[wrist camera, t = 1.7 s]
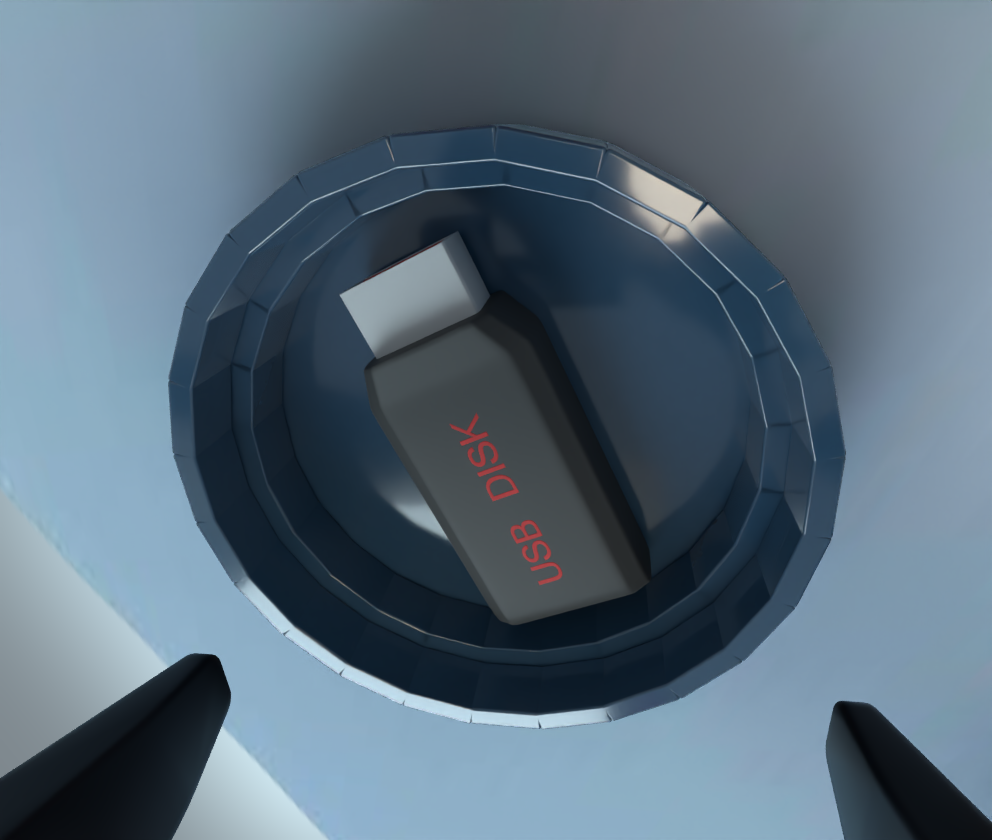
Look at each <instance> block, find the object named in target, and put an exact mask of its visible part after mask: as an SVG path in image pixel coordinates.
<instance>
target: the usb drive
mask: <svg viewBox="0 0 992 840" xmlns="http://www.w3.org/2000/svg"><path fill="white" fill-rule="evenodd" d="M340 297H341V298H342V300H343V302H344V304H345V305H346V307H347V309H348V311H349V312H350V314H351V316H352V317H353V319H354V321H355V323H356V324H357V326H358V328H359V329H360V331H361V333H362V335H363V336H364V338H365V340H366V341H367V343H368V345H369V347H370V348H371V350H372V352H373V353H374V355H375V357H374V358H373V359H372V360H371V361H370V362H369V363H368V364H367V366H366V367H365V369H364V376H365V381H366V387H367V393H368V399H369V404H370V408H371V411H372V413H373V415H374V416H375V418H376V420H377V422H378V423H379V425H380V427H381V428H382V430H383V432H384V433H385V435H386V437H387V438H388V440H389V442H390V443H391V445H392V447H393V448H394V450H395V452H396V453H397V455H398V457H399V458H400V460H401V461H402V463H403V465H404V466H405V468H406V470H407V471H408V473H409V475H410V476H411V478H412V480H413V481H414V483H415V485H416V486H417V488H418V490H419V491H420V493H421V495H422V496H423V498H424V500H425V501H426V503H427V505H428V506H429V508H430V509H431V511H432V513H433V514H434V516H435V518H436V519H437V521H438V523H439V524H440V526H441V528H442V529H443V531H444V533H445V534H446V536H447V538H448V539H449V541H450V543H451V544H452V546H453V548H454V549H455V551H456V553H457V554H458V556H459V558H460V559H461V561H462V562H463V564H464V566H465V567H466V569H467V571H468V572H469V574H470V576H471V577H472V579H473V581H474V582H475V584H476V586H477V587H478V589H479V591H480V592H481V594H482V596H483V597H484V599H485V601H486V602H487V604H488V605H489V607H490V608H491V610H492V611H493V613H494V614H495V616H496V617H497V618H498V619H499V620H500V621H502V622H505V623H508V624H511V625H519V624H523V623H527V622H531V621H534V620H538V619H542V618H545V617H549V616H553V615H556V614H560V613H564V612H568V611H571V610H575V609H579V608H582V607H586V606H590V605H594V604H597V603H601V602H605V601H608V600H612V599H616V598H620V597H623V596H627V595H630V594H633V593H635V592H637V591H638V590H639V589H641V588H642V587H643V586H645V585H646V584H647V583H649V582H650V580H651V561H650V551H649V548H648V545H647V543H646V541H645V538H644V536H643V534H642V532H641V530H640V528H639V526H638V524H637V521H636V519H635V517H634V515H633V513H632V511H631V509H630V507H629V505H628V503H627V500H626V498H625V496H624V494H623V492H622V490H621V488H620V486H619V484H618V482H617V479H616V477H615V475H614V473H613V471H612V469H611V467H610V465H609V463H608V461H607V458H606V456H605V454H604V452H603V450H602V448H601V446H600V444H599V442H598V440H597V437H596V435H595V433H594V431H593V429H592V427H591V425H590V423H589V421H588V419H587V416H586V414H585V412H584V410H583V408H582V406H581V404H580V402H579V400H578V397H577V395H576V393H575V391H574V389H573V387H572V385H571V383H570V381H569V379H568V376H567V374H566V372H565V370H564V368H563V366H562V364H561V362H560V360H559V358H558V355H557V353H556V351H555V349H554V347H553V345H552V343H551V341H550V339H549V337H548V334H547V332H546V330H545V329H544V327H543V325H542V323H541V321H540V320H539V318H538V317H537V316H536V315H535V314H533V313H532V312H531V311H529V310H528V309H527V308H526V307H524V306H523V305H522V304H520V303H519V302H518V301H517V300H515V299H514V298H513V297H511V296H510V295H509V294H507V293H506V292H505V291H502V290H500V291H497V292H495V293H493V294H491V295H490V294H489V292H488V290H487V288H486V286H485V284H484V282H483V280H482V278H481V276H480V274H479V272H478V270H477V268H476V266H475V264H474V262H473V260H472V258H471V256H470V254H469V252H468V250H467V248H466V246H465V244H464V242H463V240H462V238H461V236H460V234H459V232H458V231H457V232H455V233H453V234H451V235H449V236H447V237H445V238H443V239H441V240H439V241H437V242H435V243H433V244H431V245H429V246H427V247H426V248H424V249H422V250H420V251H418V252H416V253H414V254H412V255H410V256H408V257H406V258H404V259H402V260H400V261H398V262H396V263H394V264H392V265H390V266H389V267H387V268H385V269H383V270H381V271H379V272H377V273H375V274H373V275H371V276H369V277H367V278H365V279H363V280H361V281H360V282H358V283H357V284H355V285H354V286H352V287H350V288H349V289H347V290H346V291H344V292H343V293H341V294H340Z"/></svg>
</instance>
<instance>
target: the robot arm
mask: <svg viewBox="0 0 992 840" xmlns="http://www.w3.org/2000/svg"><path fill="white" fill-rule="evenodd" d="M230 702H231V691H230V688H229V685H228V682H227V679H226V676H225V673H224V670H223V667H222V665H221V662H220V660H219V658H218V657H217V656H216V655H212V654H198V653H194V654H190V655H187V656H186V657H184V658H182V659H181V660H179V661H178V662H176V663H175V664H173V665H172V666H170V667H169V668H167V669H166V670H164V671H163V672H161V673H160V674H158V675H157V676H155V677H153V678H152V679H150V680H149V681H148V682H146V683H145V684H143V685H141V686H140V687H138V688H137V689H135V690H134V691H132V692H131V693H129V694H128V695H126V696H125V697H123V698H122V699H120V700H119V701H117V702H116V703H114V704H112V705H111V706H109V707H108V708H106V709H105V710H104V711H102V712H100V713H99V714H97V715H96V716H94V717H93V718H91V719H90V720H88V721H87V722H85V723H84V724H82V725H80V726H79V727H77V728H76V729H74V730H73V731H71V732H70V733H68V734H67V735H65V736H64V737H62V738H61V739H59V740H58V741H56V742H55V743H53V744H52V745H50V746H49V747H47V748H45V749H44V750H42V751H41V752H39V753H38V754H36V755H35V756H33V757H32V758H30V759H29V760H27V761H26V762H24V763H23V764H21V765H20V766H18V767H17V768H15V769H13V770H12V771H10V772H9V773H7V774H6V775H4V776H3V777H1V778H0V840H172V838H173V836H174V834H175V832H176V830H177V828H178V826H179V824H180V823H181V820H182V818H183V816H184V814H185V812H186V810H187V808H188V806H189V804H190V802H191V799H192V797H193V795H194V792H195V790H196V788H197V785H198V783H199V780H200V778H201V776H202V773H203V771H204V768H205V766H206V763H207V761H208V758H209V756H210V753H211V751H212V749H213V746H214V744H215V741H216V739H217V736H218V734H219V731H220V729H221V727H222V724H223V722H224V719H225V717H226V714H227V712H228V709H229V706H230ZM826 758H827V764H828V768H829V773H830V777H831V782H832V786H833V790H834V795H835V799H836V804H837V808H838V813H839V817H840V822H841V826H842V831H843V835H844V839H845V840H992V822H991V821H990V820H989V819H988V818H987V817H986V816H985V815H984V814H983V813H982V812H981V811H980V810H979V809H978V808H977V807H976V806H975V805H974V804H973V803H972V802H971V801H970V800H969V799H968V798H967V797H966V796H964V795H963V794H962V793H961V792H960V791H959V790H958V789H957V788H956V787H955V786H954V785H953V784H952V783H951V782H950V781H949V780H948V779H947V778H946V777H945V776H944V775H943V774H942V773H941V772H940V771H939V770H938V769H937V768H936V767H935V766H934V765H933V764H932V763H931V762H930V761H929V760H928V759H927V758H926V757H925V756H924V755H923V754H922V753H921V752H920V751H919V750H918V749H917V748H916V747H915V746H914V745H913V744H912V743H911V742H910V741H909V740H908V739H907V738H906V737H905V736H904V735H903V734H902V733H901V732H900V731H899V730H898V729H897V728H895V727H894V726H893V725H892V724H891V723H890V722H889V721H888V720H887V719H886V718H885V717H884V716H883V715H882V714H881V713H880V712H879V711H878V710H877V709H876V708H875V707H874V706H872V705H870V704H868V703H863V702H850V701H838V702H837V703H836V704H835V706H834V708H833V712H832V717H831V721H830V726H829V731H828V735H827V740H826Z"/></svg>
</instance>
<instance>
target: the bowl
mask: <svg viewBox="0 0 992 840" xmlns="http://www.w3.org/2000/svg"><path fill="white" fill-rule="evenodd" d="M457 231H458V232H459V234H460V236H461V238H462V240H463V242H464V244H465V246H466V248H467V250H468V252H469V254H470V256H471V258H472V260H473V262H474V264H475V266H476V268H477V270H478V272H479V274H480V276H481V278H482V280H483V282H484V284H485V286H486V288H487V290H488V292H489V294H490V295H491V294H493V293H495V292H497V291H500V290H502V291H505V292H506V293H507V294H509V295H510V296H511V297H513V298H514V299H515V300H517V301H518V302H519V303H520V304H522V305H523V306H524V307H526V308H527V309H528V310H529V311H531V312H532V313H533V314H535V315H536V316H537V317H538V318H539V320H540V321H541V323H542V325H543V327H544V329H545V330H546V332H547V334H548V337H549V339H550V341H551V343H552V345H553V347H554V349H555V351H556V353H557V355H558V358H559V360H560V362H561V364H562V366H563V368H564V370H565V372H566V374H567V376H568V379H569V381H570V383H571V385H572V387H573V389H574V391H575V393H576V395H577V397H578V400H579V402H580V404H581V406H582V408H583V410H584V412H585V414H586V416H587V419H588V421H589V423H590V425H591V427H592V429H593V431H594V433H595V435H596V437H597V440H598V442H599V444H600V446H601V448H602V450H603V452H604V454H605V456H606V458H607V461H608V463H609V465H610V467H611V469H612V471H613V473H614V475H615V477H616V479H617V482H618V484H619V486H620V488H621V490H622V492H623V494H624V496H625V498H626V500H627V503H628V505H629V507H630V509H631V511H632V513H633V515H634V517H635V519H636V521H637V524H638V526H639V528H640V530H641V532H642V534H643V536H644V538H645V541H646V543H647V545H648V548H649V551H650V561H651V580H650V582H649V583H647V584H646V585H645V586H643V587H642V588H641V589H639V590H638V591H637V592H635V593H633V594H630V595H627V596H623V597H620V598H616V599H612V600H608V601H605V602H601V603H597V604H594V605H590V606H586V607H582V608H579V609H575V610H571V611H568V612H564V613H560V614H556V615H553V616H549V617H545V618H542V619H538V620H534V621H531V622H527V623H523V624H519V625H511V624H508V623H505V622H502V621H500V620H499V619H498V618H497V617H496V616H495V614H494V613H493V611H492V610H491V608H490V607H489V605H488V604H487V602H486V601H485V599H484V597H483V596H482V594H481V592H480V591H479V589H478V587H477V586H476V584H475V582H474V581H473V579H472V577H471V576H470V574H469V572H468V571H467V569H466V567H465V566H464V564H463V562H462V561H461V559H460V558H459V556H458V554H457V553H456V551H455V549H454V548H453V546H452V544H451V543H450V541H449V539H448V538H447V536H446V534H445V533H444V531H443V529H442V528H441V526H440V524H439V523H438V521H437V519H436V518H435V516H434V514H433V513H432V511H431V509H430V508H429V506H428V505H427V503H426V501H425V500H424V498H423V496H422V495H421V493H420V491H419V490H418V488H417V486H416V485H415V483H414V481H413V480H412V478H411V476H410V475H409V473H408V471H407V470H406V468H405V466H404V465H403V463H402V461H401V460H400V458H399V457H398V455H397V453H396V452H395V450H394V448H393V447H392V445H391V443H390V442H389V440H388V438H387V437H386V435H385V433H384V432H383V430H382V428H381V427H380V425H379V423H378V422H377V420H376V418H375V416H374V415H373V413H372V411H371V408H370V404H369V399H368V393H367V387H366V381H365V376H364V369H365V367H366V366H367V364H368V363H369V362H370V361H371V360H372V359H373V358H374V357H375V355H374V353H373V352H372V350H371V348H370V347H369V345H368V343H367V341H366V340H365V338H364V336H363V335H362V333H361V331H360V329H359V328H358V326H357V324H356V323H355V321H354V319H353V317H352V316H351V314H350V312H349V311H348V309H347V307H346V305H345V304H344V302H343V300H342V298H341V297H340V294H341V293H343V292H344V291H346V290H347V289H349V288H350V287H352V286H354V285H355V284H357V283H358V282H360V281H361V280H363V279H365V278H367V277H369V276H371V275H373V274H375V273H377V272H379V271H381V270H383V269H385V268H387V267H389V266H390V265H392V264H394V263H396V262H398V261H400V260H402V259H404V258H406V257H408V256H410V255H412V254H414V253H416V252H418V251H420V250H422V249H424V248H426V247H427V246H429V245H431V244H433V243H435V242H437V241H439V240H441V239H443V238H445V237H447V236H449V235H451V234H453V233H455V232H457ZM168 387H169V403H170V418H171V433H172V448H173V453H174V459H175V462H176V465H177V468H178V471H179V474H180V477H181V480H182V483H183V486H184V489H185V492H186V495H187V498H188V501H189V504H190V507H191V509H192V512H193V515H194V518H195V521H196V522H197V526H198V527H199V529H200V531H201V532H202V534H203V536H204V537H205V539H206V540H207V542H208V544H209V545H210V547H211V548H212V550H213V552H214V553H215V555H216V557H217V558H218V560H219V561H220V563H221V565H222V566H223V568H224V569H225V571H226V573H227V574H228V576H229V578H230V579H231V581H232V582H233V583H234V585H235V586H236V587H237V588H238V589H239V590H240V591H241V592H242V593H243V594H244V595H245V597H246V598H247V599H248V600H249V601H250V602H251V603H252V604H253V605H254V606H255V607H256V608H257V609H258V610H259V611H260V612H261V613H262V614H263V615H264V616H265V618H266V619H267V620H268V621H269V622H270V623H271V624H272V625H273V626H274V627H275V628H276V629H277V630H278V631H279V632H280V633H281V634H283V635H284V636H285V637H286V638H288V639H289V640H291V641H292V642H294V643H295V644H296V645H298V646H299V647H301V648H302V649H303V650H305V651H306V652H308V653H309V654H310V655H312V656H313V657H315V658H316V659H317V660H319V661H320V662H322V663H323V664H324V665H326V666H327V667H329V668H330V669H331V670H333V671H334V672H336V673H337V674H340V676H341V677H344V678H346V679H348V680H350V681H352V682H354V683H356V684H358V685H361V686H363V687H365V688H367V689H369V690H371V691H373V692H375V693H378V694H380V695H382V696H384V697H386V698H388V699H390V700H393V701H395V702H397V703H399V704H401V705H402V704H403V705H404V706H407V707H410V708H414V709H418V710H422V711H425V712H429V713H433V714H436V715H440V716H444V717H448V718H451V719H455V720H459V721H463V722H466V723H471V722H472V723H474V724H486V725H499V726H511V727H523V728H535V729H540V728H542V729H548V728H558V727H567V726H576V725H585V724H595V723H604V722H611V721H612V720H613V721H615V720H618V719H621V718H624V717H627V716H630V715H633V714H636V713H639V712H643V711H646V710H649V709H652V708H655V707H658V706H661V705H664V704H667V703H670V702H673V701H676V700H679V699H680V698H683V697H685V696H687V695H688V694H690V693H692V692H693V691H695V690H697V689H698V688H700V687H702V686H703V685H705V684H707V683H708V682H710V681H712V680H713V679H715V678H717V677H718V676H720V675H722V674H723V673H725V672H727V671H728V670H730V669H732V668H733V667H735V666H737V665H738V664H740V663H741V662H742V661H744V660H746V659H747V658H748V656H749V655H750V654H751V653H752V652H753V651H754V650H755V649H756V648H757V647H758V646H759V645H760V644H761V643H762V642H763V641H764V640H765V639H766V638H767V637H768V636H769V635H770V634H771V633H772V632H773V631H774V630H775V629H776V628H777V627H778V626H779V625H780V624H781V623H782V622H783V620H784V619H785V618H786V617H787V616H788V615H789V614H790V613H791V612H792V611H793V610H794V609H795V607H796V606H797V604H798V603H799V601H800V599H801V597H802V595H803V593H804V591H805V589H806V587H807V585H808V583H809V582H810V580H811V578H812V576H813V574H814V572H815V570H816V568H817V566H818V564H819V562H820V560H821V559H822V557H823V555H824V553H825V551H826V549H827V547H828V545H829V543H830V541H831V537H832V535H833V529H834V523H835V517H836V511H837V505H838V500H839V494H840V488H841V482H842V476H843V470H844V464H845V455H846V451H845V445H844V438H843V432H842V426H841V420H840V413H839V407H838V401H837V395H836V389H835V382H834V376H833V370H832V367H831V366H830V361H829V359H828V357H827V355H826V354H825V352H824V350H823V348H822V346H821V344H820V342H819V340H818V338H817V336H816V334H815V332H814V331H813V329H812V327H811V325H810V323H809V321H808V319H807V317H806V315H805V313H804V311H803V309H802V308H801V306H800V304H799V302H798V300H797V298H796V296H795V294H794V292H793V290H792V288H791V286H790V285H789V283H788V281H787V279H786V278H785V277H784V275H783V274H782V273H781V272H780V271H779V270H778V269H777V268H776V267H775V266H774V265H773V264H772V263H771V262H770V261H769V260H768V259H767V258H766V257H765V256H764V255H763V254H762V253H761V252H760V251H759V250H758V249H757V248H756V247H755V246H754V245H753V244H752V243H751V242H750V241H749V240H748V239H747V238H746V237H745V236H744V235H743V234H742V233H741V232H740V231H739V230H738V229H737V228H736V227H735V226H734V225H733V224H732V223H731V222H730V221H729V220H728V219H727V218H726V217H725V216H724V215H723V214H722V213H721V212H720V211H719V210H718V209H717V208H716V207H715V206H714V205H713V204H712V203H711V202H710V201H708V200H707V199H706V198H705V197H703V196H702V195H701V194H700V193H698V192H697V191H696V190H695V189H693V188H692V187H691V186H690V185H688V184H686V183H685V182H684V181H682V180H680V179H678V178H676V177H674V176H672V175H671V174H669V173H667V172H665V171H663V170H661V169H659V168H657V167H656V166H654V165H652V164H650V163H648V162H646V161H644V160H642V159H640V158H639V157H637V156H635V155H633V154H631V153H629V152H627V151H625V150H624V149H622V148H620V147H618V146H616V145H614V144H612V143H607V141H604V140H599V139H594V138H589V137H584V136H579V135H574V134H570V133H565V132H560V131H555V130H550V129H545V128H540V127H535V126H530V125H525V124H495V125H483V126H472V127H461V128H451V129H440V130H429V131H419V132H408V133H397V134H391V135H390V136H383V137H381V138H379V139H376V140H374V141H371V142H369V143H367V144H364V145H362V146H360V147H357V148H355V149H352V150H350V151H348V152H345V153H343V154H341V155H338V156H336V157H333V158H331V159H329V160H326V161H324V162H321V163H319V164H317V165H314V166H312V167H310V168H307V169H305V170H302V171H300V172H299V173H298V175H294V176H292V177H291V178H290V179H289V180H288V181H287V182H286V183H284V184H283V185H282V186H281V187H280V188H279V189H277V190H276V191H275V192H274V193H273V194H272V195H271V196H269V197H268V198H267V199H266V200H265V201H264V202H262V203H261V204H260V205H259V206H258V207H257V208H256V209H254V210H253V211H252V212H251V213H250V214H249V215H247V216H246V217H245V218H244V219H243V220H242V221H241V222H239V223H238V224H237V225H236V226H235V227H234V228H232V229H231V230H230V232H229V233H228V234H226V236H225V237H224V239H223V241H222V242H221V244H220V246H219V248H218V249H217V251H216V253H215V254H214V256H213V258H212V259H211V261H210V263H209V264H208V266H207V268H206V270H205V271H204V273H203V275H202V276H201V278H200V280H199V281H198V283H197V285H196V286H195V288H194V290H193V291H192V293H191V295H190V297H189V298H188V300H187V302H186V306H185V308H184V312H183V316H182V321H181V325H180V330H179V334H178V338H177V343H176V347H175V352H174V356H173V360H172V365H171V369H170V374H169V382H168Z"/></svg>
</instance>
